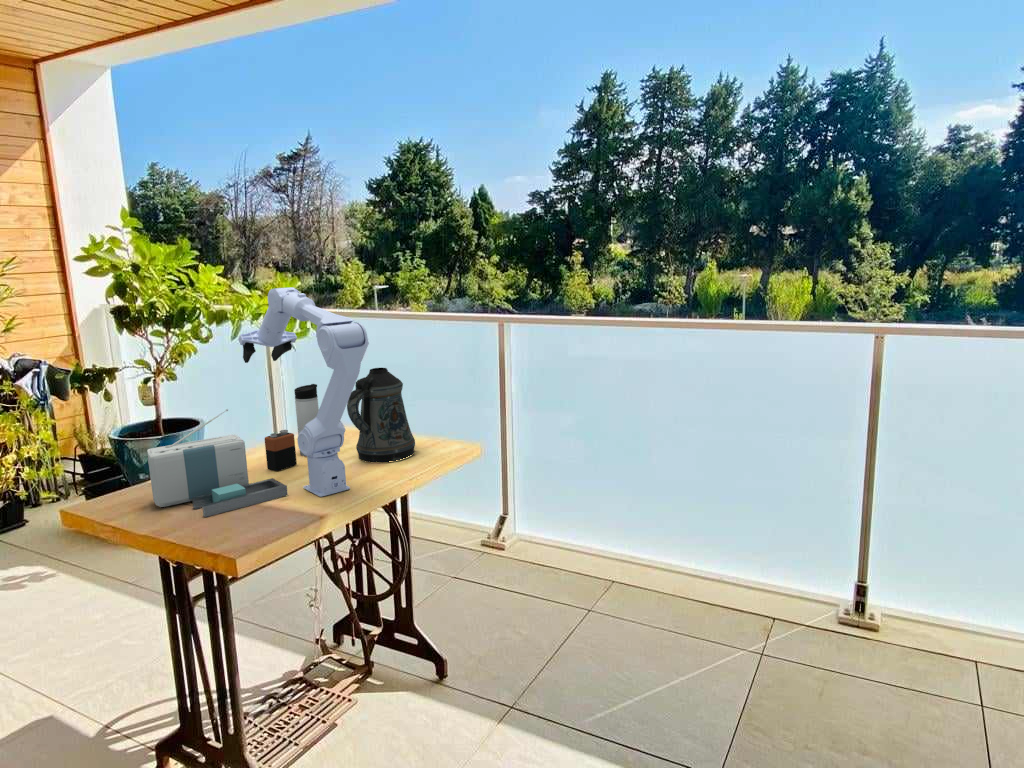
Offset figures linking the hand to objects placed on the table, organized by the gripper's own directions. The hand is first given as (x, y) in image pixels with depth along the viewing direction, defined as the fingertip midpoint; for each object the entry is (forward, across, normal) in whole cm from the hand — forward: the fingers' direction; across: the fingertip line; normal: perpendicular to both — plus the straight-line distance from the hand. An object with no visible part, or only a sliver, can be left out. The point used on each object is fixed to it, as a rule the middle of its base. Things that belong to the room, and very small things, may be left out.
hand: (259, 359), depth 184 cm
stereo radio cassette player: (+16, +20, +29) cm, 38 cm away
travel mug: (+24, -16, +17) cm, 34 cm away
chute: (+7, +15, +37) cm, 40 cm away
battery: (+20, -4, +23) cm, 30 cm away
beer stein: (+10, -29, +30) cm, 43 cm away
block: (+8, +17, +37) cm, 41 cm away
